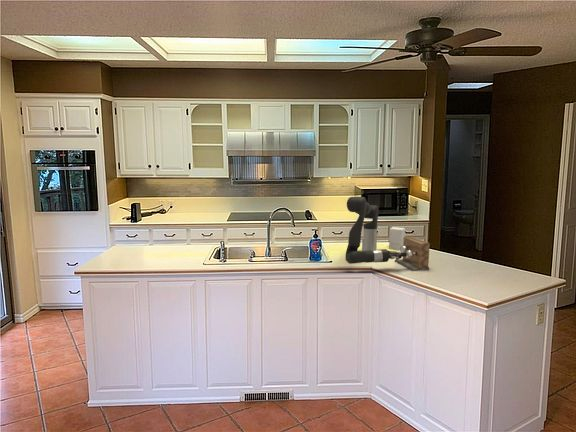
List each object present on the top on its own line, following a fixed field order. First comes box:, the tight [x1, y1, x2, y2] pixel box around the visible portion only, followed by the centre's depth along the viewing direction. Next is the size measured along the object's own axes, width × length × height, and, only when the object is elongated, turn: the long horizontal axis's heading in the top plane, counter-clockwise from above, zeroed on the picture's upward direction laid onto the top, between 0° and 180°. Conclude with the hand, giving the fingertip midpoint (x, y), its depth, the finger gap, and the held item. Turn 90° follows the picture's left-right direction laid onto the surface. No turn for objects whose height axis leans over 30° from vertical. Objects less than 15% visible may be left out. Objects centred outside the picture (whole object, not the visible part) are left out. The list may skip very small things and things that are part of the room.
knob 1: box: [399, 246, 408, 253], centre depth 272 cm, size 8×4×4 cm, turn 104°
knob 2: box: [405, 250, 417, 258], centre depth 260 cm, size 8×4×4 cm, turn 104°
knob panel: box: [394, 236, 431, 272], centre depth 266 cm, size 11×22×16 cm, turn 14°
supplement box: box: [388, 226, 406, 251], centre depth 312 cm, size 9×9×15 cm
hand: (406, 254), depth 259 cm, fingers closed
